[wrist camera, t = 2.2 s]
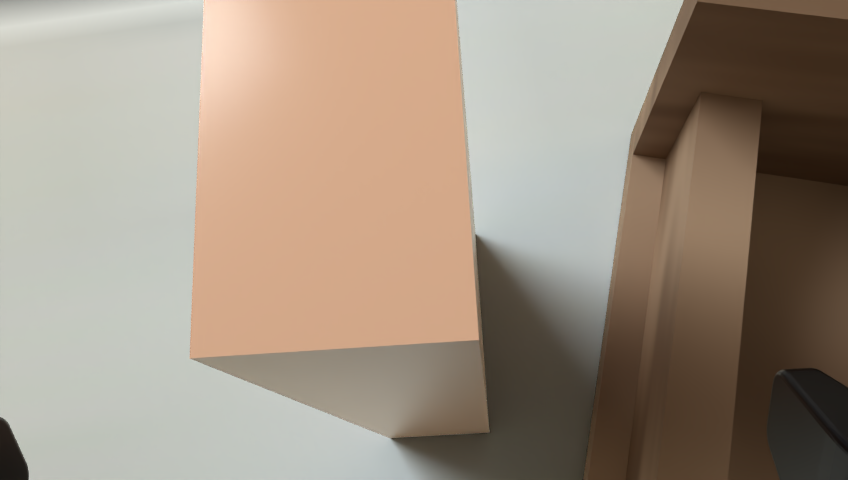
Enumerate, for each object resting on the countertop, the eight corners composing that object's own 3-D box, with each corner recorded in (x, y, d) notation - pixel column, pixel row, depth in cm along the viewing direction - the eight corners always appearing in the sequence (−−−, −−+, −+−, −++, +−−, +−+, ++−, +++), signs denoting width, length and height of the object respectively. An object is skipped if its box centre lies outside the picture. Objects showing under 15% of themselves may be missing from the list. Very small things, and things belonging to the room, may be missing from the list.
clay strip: (489, 432, 19) (479, 340, 6) (389, 438, 19) (190, 358, 6) (475, 233, 20) (444, -157, 8) (382, 240, 20) (208, -133, 8)
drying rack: (947, 826, 16) (1324, 1116, 9) (548, 725, 17) (587, 907, 10) (957, 181, 19) (1224, 8, 12) (631, 134, 21) (703, -49, 13)
